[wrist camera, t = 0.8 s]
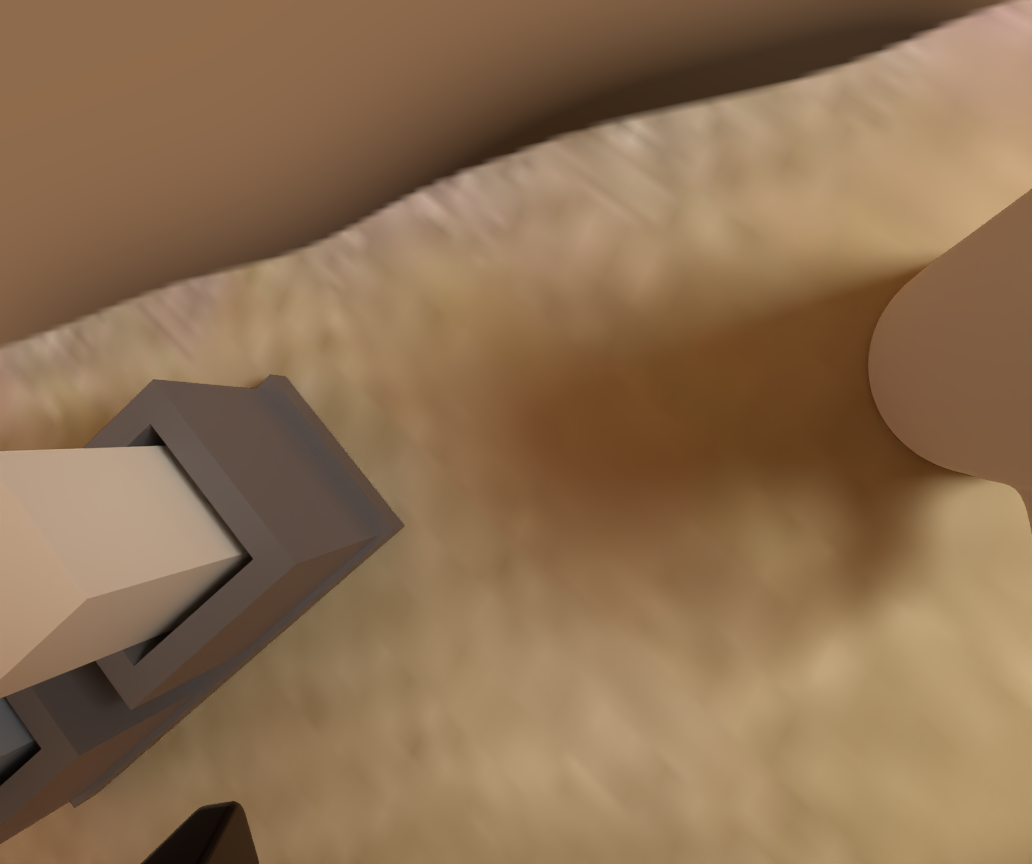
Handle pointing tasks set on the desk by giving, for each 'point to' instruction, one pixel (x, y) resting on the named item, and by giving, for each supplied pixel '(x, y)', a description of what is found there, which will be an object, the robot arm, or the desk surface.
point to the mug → (964, 355)
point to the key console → (230, 611)
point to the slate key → (14, 742)
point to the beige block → (101, 555)
